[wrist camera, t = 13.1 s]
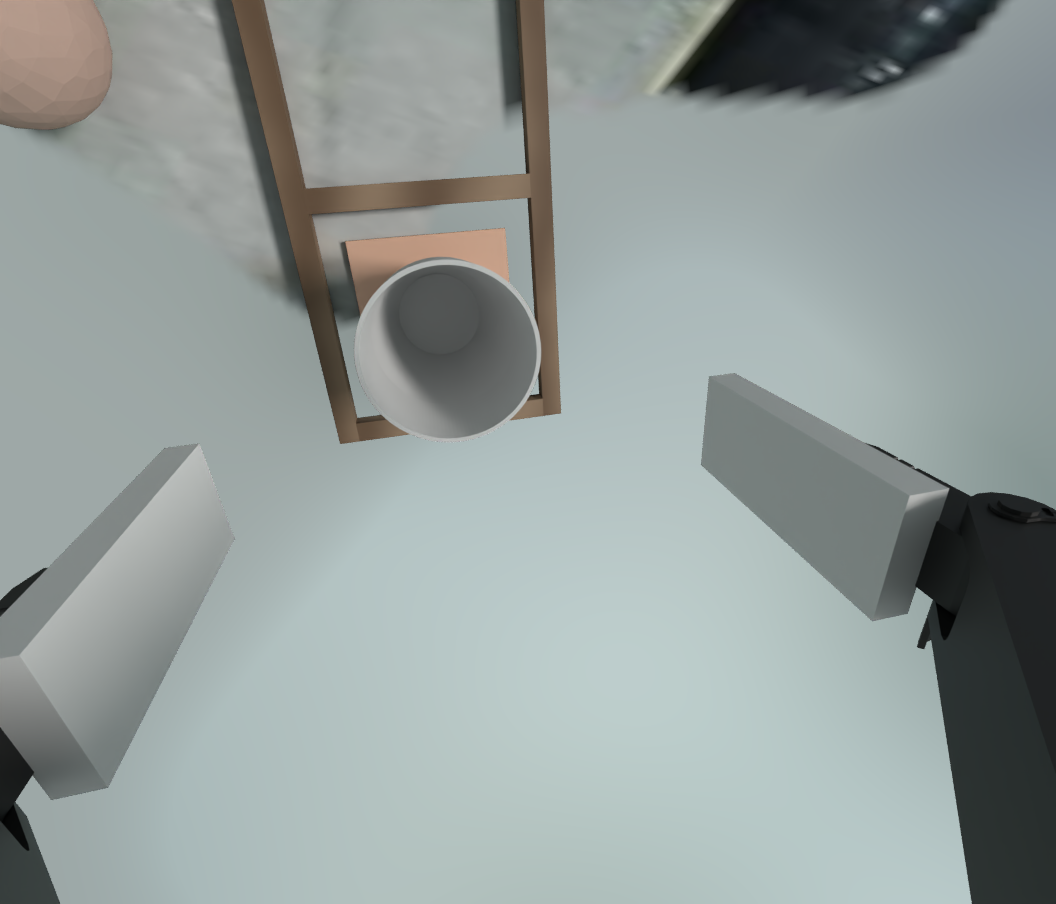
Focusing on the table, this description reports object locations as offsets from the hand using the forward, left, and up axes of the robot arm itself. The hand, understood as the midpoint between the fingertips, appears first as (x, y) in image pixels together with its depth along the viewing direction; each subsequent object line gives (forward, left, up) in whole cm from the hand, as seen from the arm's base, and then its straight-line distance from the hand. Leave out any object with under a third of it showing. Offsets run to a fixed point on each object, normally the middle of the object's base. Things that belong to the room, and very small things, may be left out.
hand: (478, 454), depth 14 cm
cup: (0, 0, -21) cm, 21 cm away
